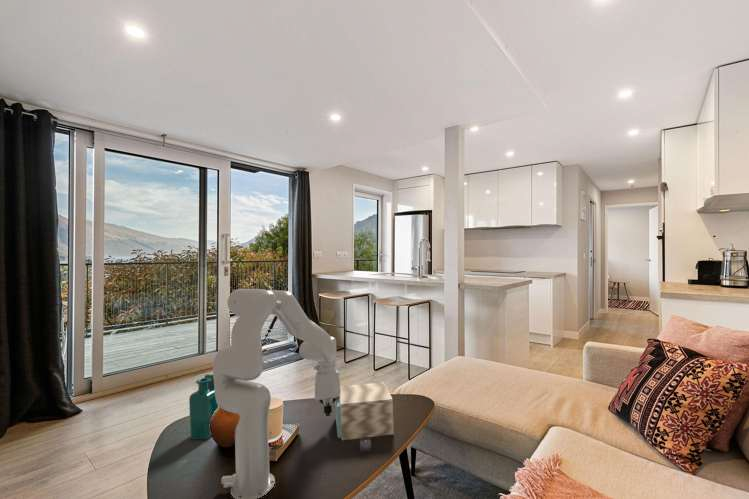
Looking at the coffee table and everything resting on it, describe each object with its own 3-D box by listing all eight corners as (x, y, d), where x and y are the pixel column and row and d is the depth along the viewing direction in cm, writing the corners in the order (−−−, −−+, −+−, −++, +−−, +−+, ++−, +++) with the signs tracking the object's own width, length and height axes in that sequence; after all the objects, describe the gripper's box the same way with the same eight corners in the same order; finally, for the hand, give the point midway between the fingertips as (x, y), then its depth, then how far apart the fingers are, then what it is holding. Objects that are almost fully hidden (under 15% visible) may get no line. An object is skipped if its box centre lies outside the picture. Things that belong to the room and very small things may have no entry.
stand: (360, 453, 121) (360, 443, 121) (359, 447, 125) (359, 437, 125) (371, 452, 122) (371, 442, 122) (370, 446, 126) (370, 436, 126)
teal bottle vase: (207, 441, 133) (205, 383, 133) (187, 439, 134) (186, 382, 135) (223, 428, 142) (221, 374, 143) (204, 426, 144) (203, 373, 144)
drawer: (337, 438, 130) (336, 406, 130) (335, 416, 148) (334, 388, 148) (390, 432, 133) (389, 401, 133) (381, 411, 151) (380, 384, 151)
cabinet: (341, 440, 130) (340, 404, 130) (338, 418, 148) (337, 386, 148) (393, 434, 133) (392, 399, 133) (384, 413, 151) (383, 382, 151)
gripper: (308, 372, 134) (308, 420, 133) (346, 369, 136) (347, 416, 136) (308, 366, 141) (308, 412, 140) (344, 364, 144) (345, 408, 143)
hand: (327, 414), depth 138 cm, fingers closed
